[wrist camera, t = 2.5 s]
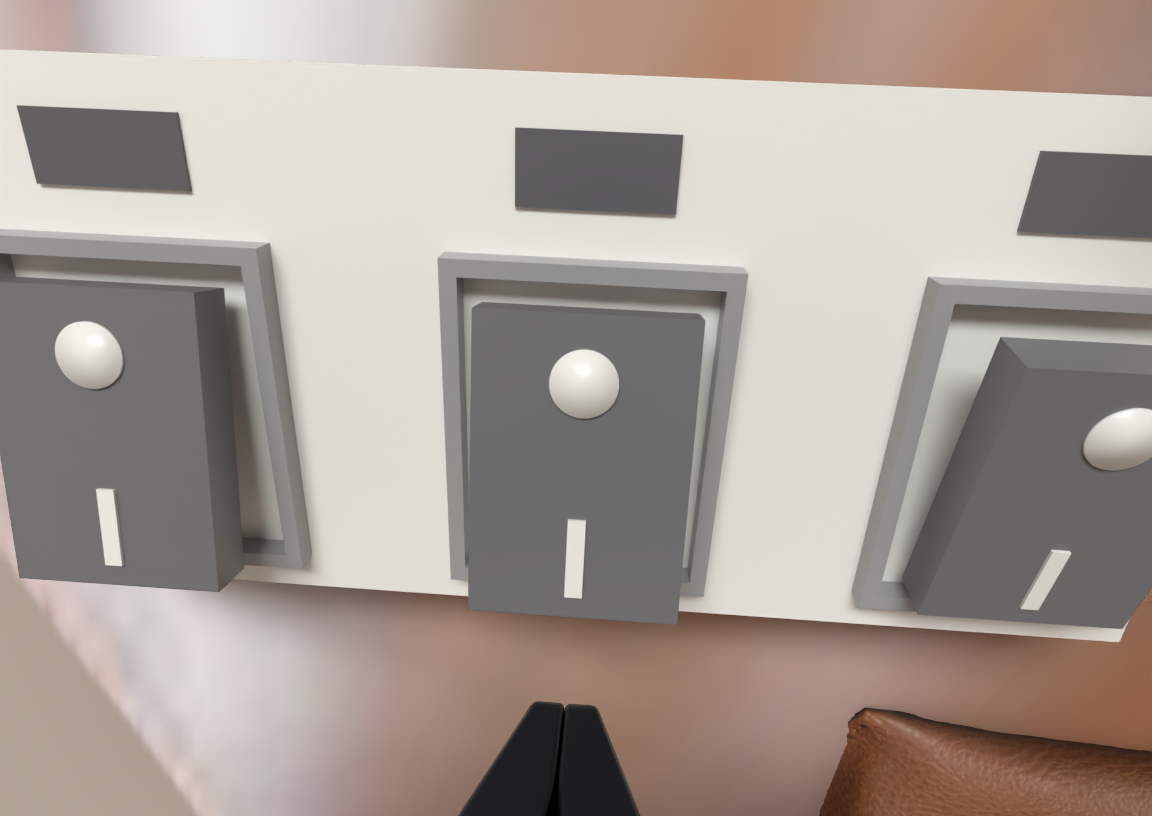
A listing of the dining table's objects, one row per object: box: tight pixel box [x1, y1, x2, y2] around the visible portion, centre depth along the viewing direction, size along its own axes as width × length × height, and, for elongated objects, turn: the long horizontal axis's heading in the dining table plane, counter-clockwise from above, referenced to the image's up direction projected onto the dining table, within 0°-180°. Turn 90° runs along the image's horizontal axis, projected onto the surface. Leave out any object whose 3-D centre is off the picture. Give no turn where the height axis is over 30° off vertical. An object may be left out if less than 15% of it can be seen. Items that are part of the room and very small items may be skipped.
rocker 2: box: [902, 337, 1152, 629], centre depth 12 cm, size 4×5×1 cm
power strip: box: [0, 49, 1152, 642], centre depth 14 cm, size 28×10×4 cm, turn 88°
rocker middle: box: [468, 302, 705, 625], centre depth 12 cm, size 4×5×1 cm
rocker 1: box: [0, 277, 244, 592], centre depth 12 cm, size 4×5×1 cm
